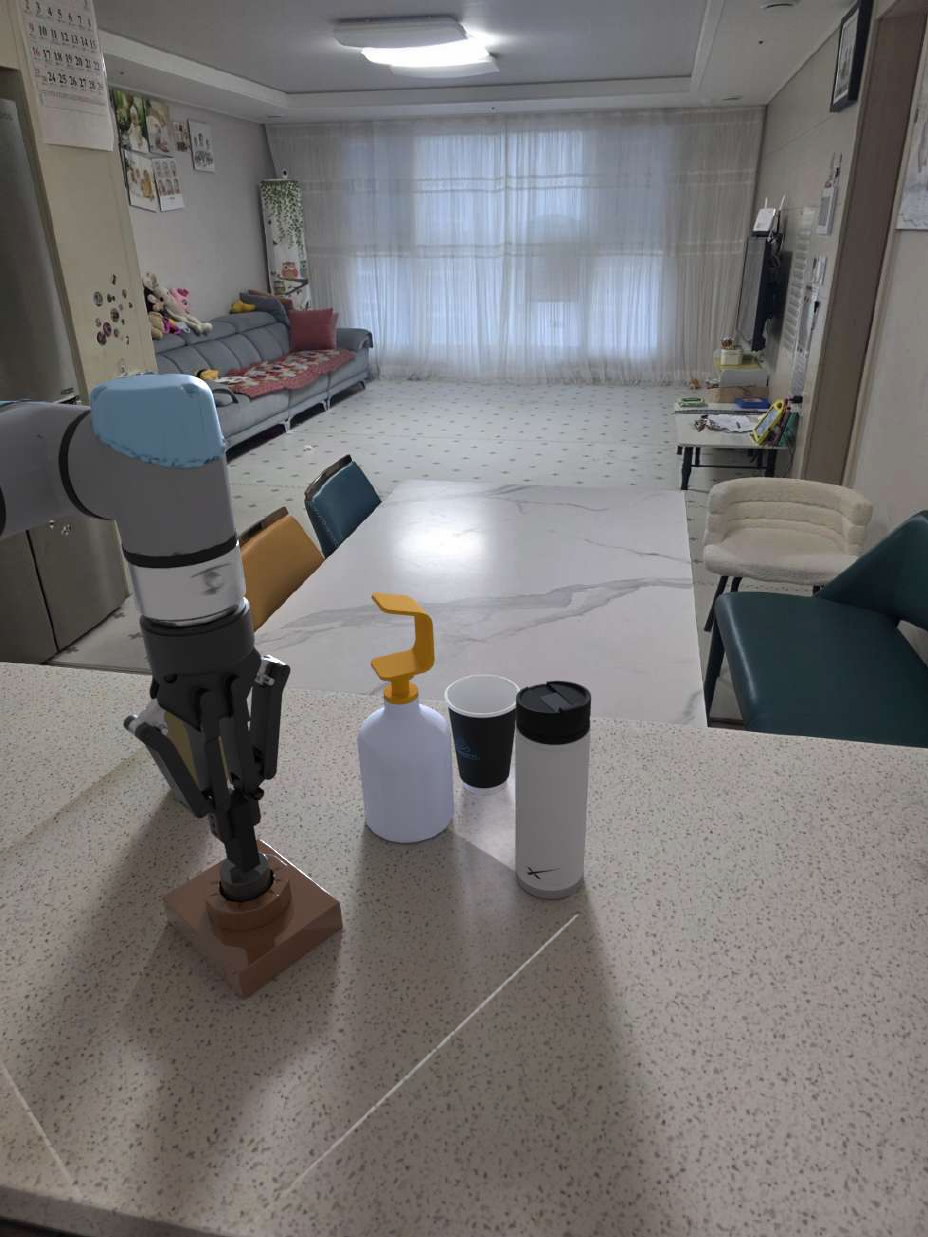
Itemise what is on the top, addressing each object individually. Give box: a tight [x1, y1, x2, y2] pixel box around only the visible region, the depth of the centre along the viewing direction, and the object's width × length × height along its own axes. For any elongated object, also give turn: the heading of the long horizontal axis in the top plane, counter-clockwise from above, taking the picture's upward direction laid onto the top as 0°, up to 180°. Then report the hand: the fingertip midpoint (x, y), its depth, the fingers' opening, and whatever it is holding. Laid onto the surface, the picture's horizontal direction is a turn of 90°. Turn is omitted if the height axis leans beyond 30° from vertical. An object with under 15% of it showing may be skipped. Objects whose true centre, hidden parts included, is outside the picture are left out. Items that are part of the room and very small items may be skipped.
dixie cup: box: [443, 674, 521, 796], centre depth 86 cm, size 8×8×11 cm
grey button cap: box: [219, 852, 271, 902], centre depth 69 cm, size 4×4×2 cm
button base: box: [161, 838, 344, 1001], centre depth 71 cm, size 12×10×5 cm
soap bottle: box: [356, 592, 455, 844], centre depth 79 cm, size 9×9×25 cm
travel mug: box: [514, 680, 592, 900], centre depth 71 cm, size 6×7×20 cm
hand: (243, 861), depth 68 cm, fingers closed
